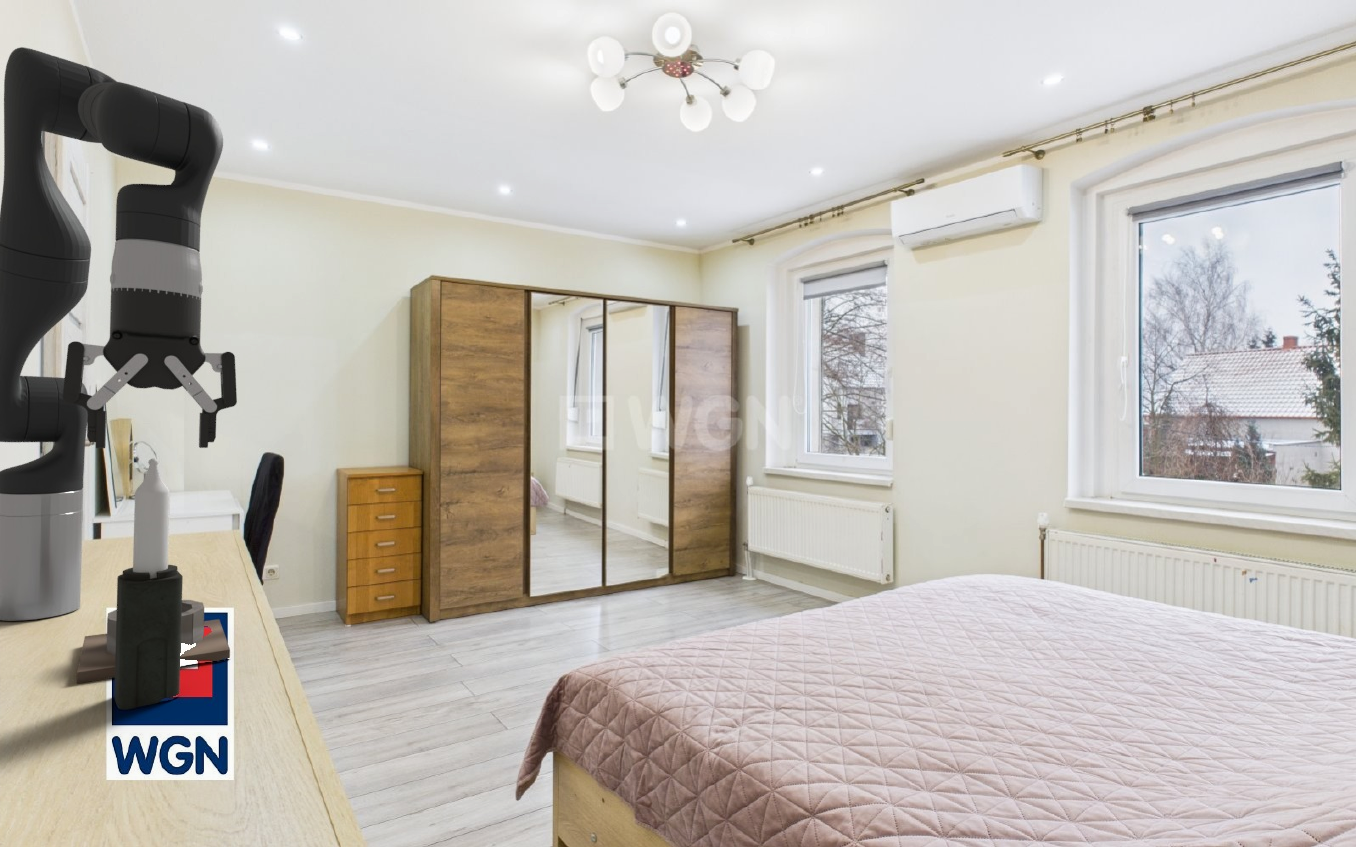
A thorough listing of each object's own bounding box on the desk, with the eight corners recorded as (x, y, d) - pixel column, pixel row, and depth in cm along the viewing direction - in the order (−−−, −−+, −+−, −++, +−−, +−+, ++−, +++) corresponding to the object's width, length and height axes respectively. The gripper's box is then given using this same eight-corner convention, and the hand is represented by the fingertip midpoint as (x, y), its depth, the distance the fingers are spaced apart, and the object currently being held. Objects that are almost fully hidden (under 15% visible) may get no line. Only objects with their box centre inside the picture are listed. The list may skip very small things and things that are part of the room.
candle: (172, 683, 77) (178, 456, 76) (181, 698, 73) (187, 459, 73) (112, 695, 73) (119, 456, 73) (119, 711, 70) (125, 460, 69)
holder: (84, 645, 87) (85, 604, 87) (219, 628, 96) (220, 590, 95) (76, 683, 76) (78, 635, 76) (229, 659, 84) (230, 616, 84)
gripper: (234, 303, 80) (230, 445, 80) (69, 285, 71) (65, 445, 71) (242, 296, 74) (238, 450, 74) (63, 276, 65) (59, 450, 66)
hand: (153, 447), depth 73 cm, fingers open, 8 cm apart
